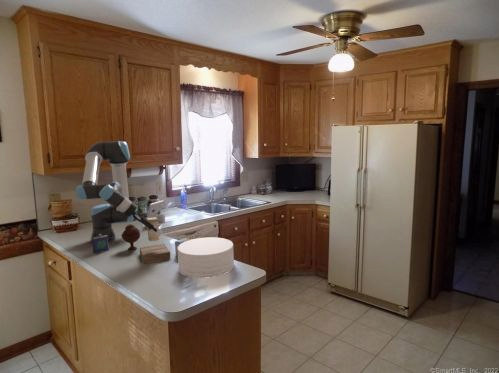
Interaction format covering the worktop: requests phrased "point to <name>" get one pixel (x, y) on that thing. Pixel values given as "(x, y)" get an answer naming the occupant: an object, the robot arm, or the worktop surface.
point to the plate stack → (205, 257)
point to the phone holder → (156, 207)
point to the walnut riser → (154, 253)
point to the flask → (100, 244)
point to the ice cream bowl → (131, 236)
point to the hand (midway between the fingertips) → (160, 233)
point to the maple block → (151, 234)
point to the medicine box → (179, 244)
